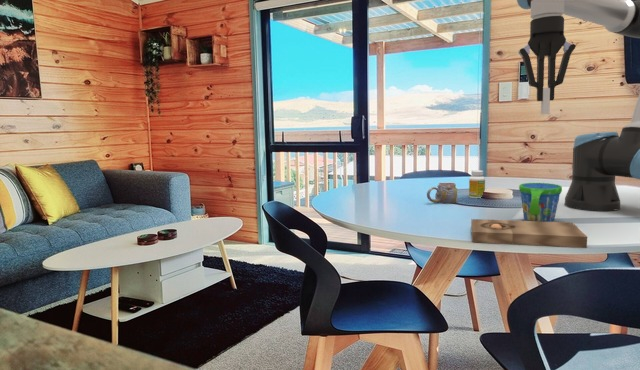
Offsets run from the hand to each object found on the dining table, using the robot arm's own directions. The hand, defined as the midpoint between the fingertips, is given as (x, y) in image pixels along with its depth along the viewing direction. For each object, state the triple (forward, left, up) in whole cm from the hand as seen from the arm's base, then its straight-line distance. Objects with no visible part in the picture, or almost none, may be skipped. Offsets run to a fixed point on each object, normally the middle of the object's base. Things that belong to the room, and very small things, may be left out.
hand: (545, 114), depth 117 cm
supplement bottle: (+14, -43, -30) cm, 54 cm away
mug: (+27, -31, -30) cm, 51 cm away
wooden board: (+5, +12, -30) cm, 32 cm away
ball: (+12, +12, -28) cm, 33 cm away
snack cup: (-1, -6, -30) cm, 30 cm away
